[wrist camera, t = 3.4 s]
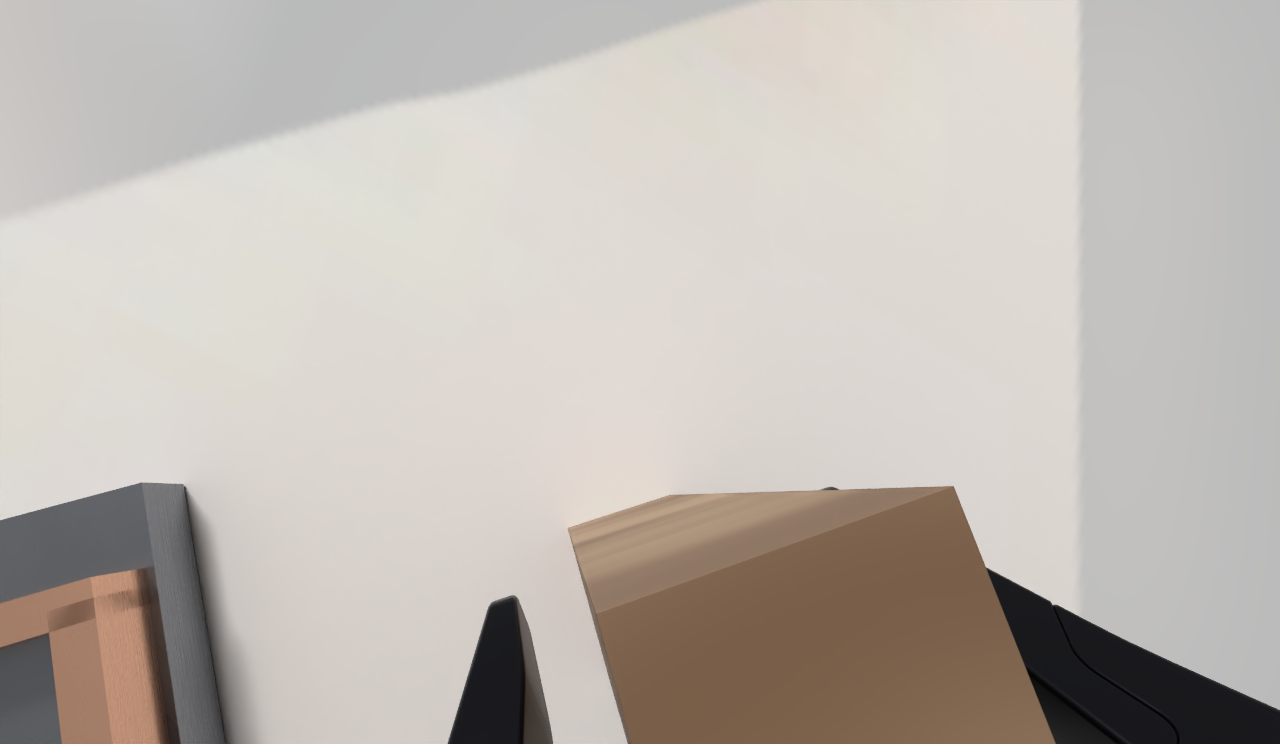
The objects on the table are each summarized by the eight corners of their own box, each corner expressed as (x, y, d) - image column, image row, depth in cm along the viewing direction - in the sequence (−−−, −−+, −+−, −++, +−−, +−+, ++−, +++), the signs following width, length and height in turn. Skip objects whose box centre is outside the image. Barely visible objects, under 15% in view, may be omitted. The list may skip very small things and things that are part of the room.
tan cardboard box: (720, 660, 15) (1219, 1156, 4) (615, 702, 15) (823, 1437, 3) (670, 495, 16) (953, 485, 5) (567, 528, 16) (595, 615, 4)
